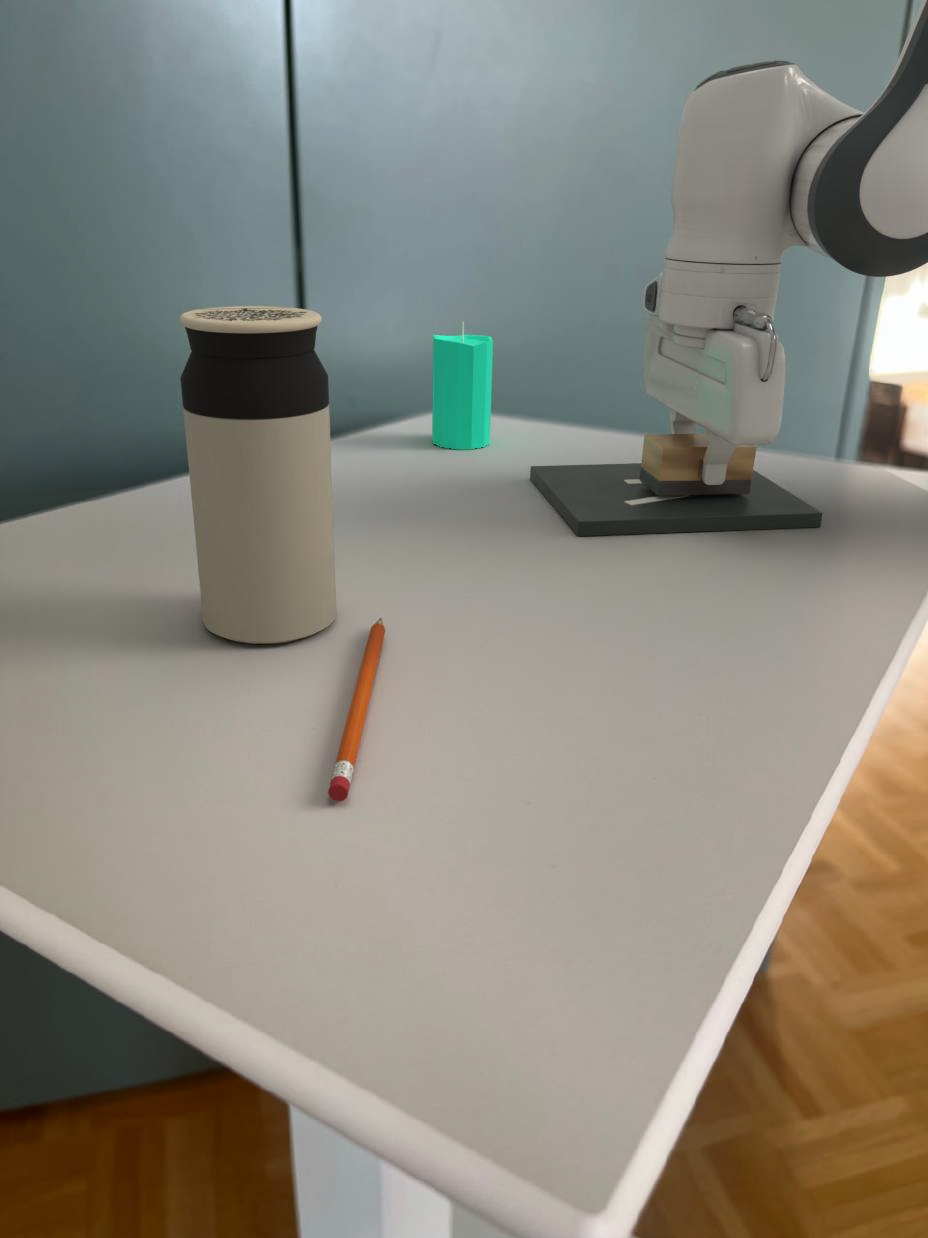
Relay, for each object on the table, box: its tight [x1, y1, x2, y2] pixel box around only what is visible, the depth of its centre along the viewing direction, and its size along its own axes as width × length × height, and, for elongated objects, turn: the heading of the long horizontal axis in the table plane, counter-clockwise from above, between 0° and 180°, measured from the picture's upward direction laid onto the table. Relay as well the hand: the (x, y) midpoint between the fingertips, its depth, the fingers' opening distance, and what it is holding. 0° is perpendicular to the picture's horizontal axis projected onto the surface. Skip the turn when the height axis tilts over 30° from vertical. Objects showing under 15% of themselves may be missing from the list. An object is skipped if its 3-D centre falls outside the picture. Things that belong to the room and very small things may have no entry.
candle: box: [431, 321, 494, 450], centre depth 100 cm, size 6×6×12 cm
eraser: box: [640, 433, 758, 496], centre depth 83 cm, size 8×4×4 cm, turn 100°
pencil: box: [327, 617, 386, 802], centre depth 52 cm, size 1×19×1 cm, turn 179°
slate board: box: [529, 462, 823, 537], centre depth 85 cm, size 20×16×1 cm
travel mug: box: [179, 305, 337, 645], centre depth 57 cm, size 8×8×18 cm
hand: (696, 472), depth 83 cm, fingers closed on eraser, 4 cm apart
